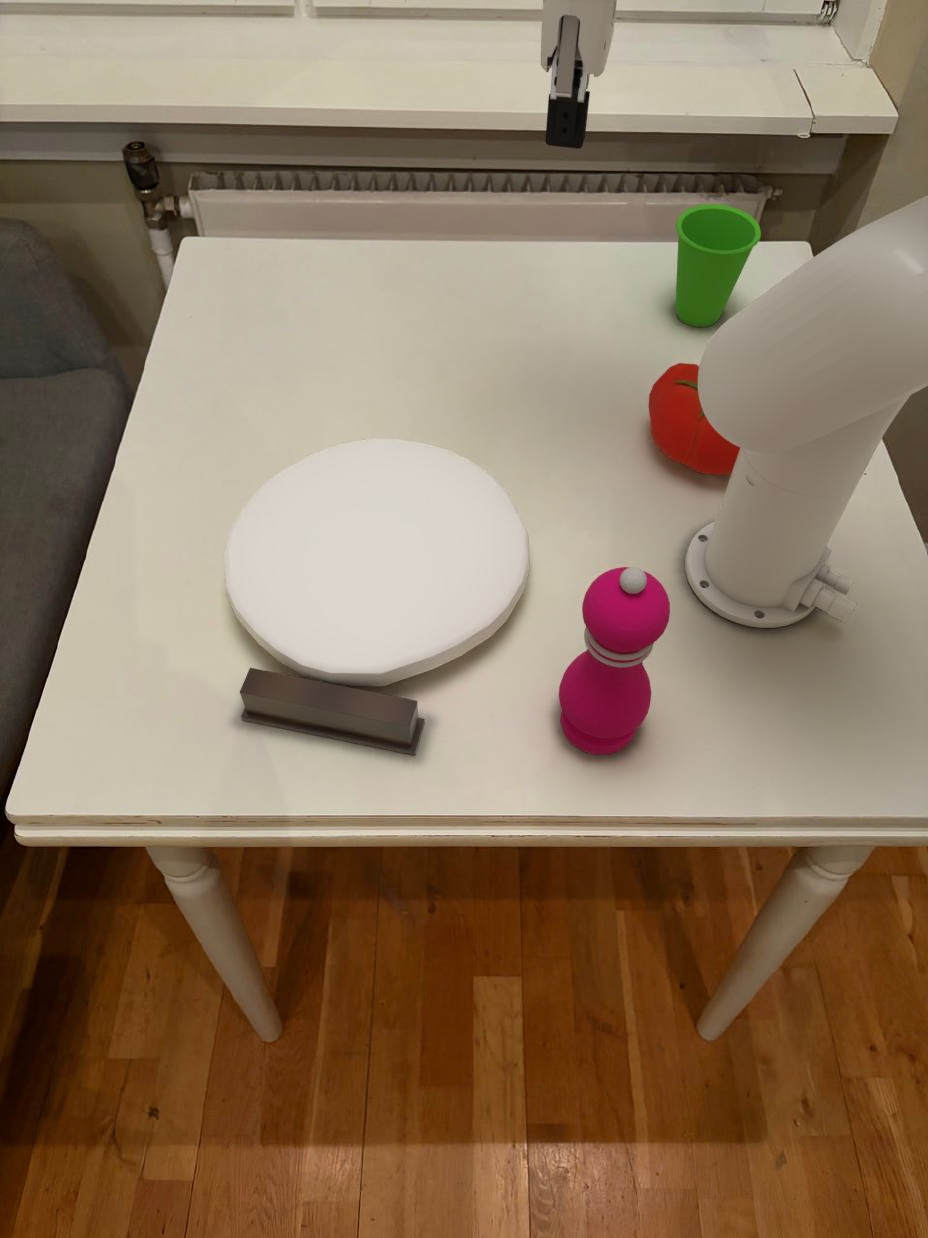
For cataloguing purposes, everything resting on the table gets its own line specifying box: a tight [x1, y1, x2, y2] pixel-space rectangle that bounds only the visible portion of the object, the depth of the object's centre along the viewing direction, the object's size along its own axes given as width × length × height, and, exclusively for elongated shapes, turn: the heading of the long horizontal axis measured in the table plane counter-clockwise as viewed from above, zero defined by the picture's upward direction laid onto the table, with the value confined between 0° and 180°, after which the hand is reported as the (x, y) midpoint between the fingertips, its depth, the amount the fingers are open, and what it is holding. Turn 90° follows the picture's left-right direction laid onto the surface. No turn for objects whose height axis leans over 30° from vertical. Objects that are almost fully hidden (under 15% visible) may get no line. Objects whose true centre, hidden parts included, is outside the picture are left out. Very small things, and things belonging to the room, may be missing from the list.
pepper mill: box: [558, 566, 671, 756], centre depth 70 cm, size 7×7×20 cm
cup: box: [674, 203, 762, 328], centre depth 106 cm, size 9×9×11 cm
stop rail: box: [239, 667, 426, 756], centre depth 77 cm, size 15×3×4 cm, turn 77°
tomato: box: [648, 362, 740, 476], centre depth 94 cm, size 13×12×8 cm
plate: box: [222, 437, 531, 687], centre depth 85 cm, size 28×6×27 cm
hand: (565, 141), depth 81 cm, fingers closed
